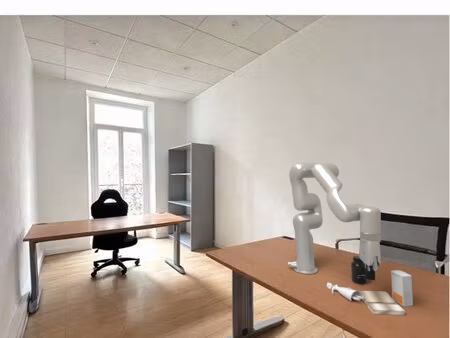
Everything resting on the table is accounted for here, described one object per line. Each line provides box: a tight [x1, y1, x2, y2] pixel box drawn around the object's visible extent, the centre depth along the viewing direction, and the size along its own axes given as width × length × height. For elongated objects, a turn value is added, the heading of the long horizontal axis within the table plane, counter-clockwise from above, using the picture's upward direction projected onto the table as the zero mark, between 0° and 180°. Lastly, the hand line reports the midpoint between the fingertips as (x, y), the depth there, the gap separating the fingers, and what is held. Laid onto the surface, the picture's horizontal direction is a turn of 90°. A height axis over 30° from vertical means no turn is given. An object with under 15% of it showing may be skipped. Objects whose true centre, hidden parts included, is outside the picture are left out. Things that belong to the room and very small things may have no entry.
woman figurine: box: [326, 282, 364, 302], centre depth 107 cm, size 12×4×18 cm
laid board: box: [367, 303, 406, 316], centre depth 93 cm, size 11×5×2 cm, turn 82°
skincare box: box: [390, 269, 414, 307], centre depth 99 cm, size 6×4×12 cm
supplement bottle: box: [350, 255, 368, 286], centre depth 119 cm, size 7×7×12 cm
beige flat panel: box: [358, 290, 397, 306], centre depth 101 cm, size 11×8×1 cm
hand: (370, 279), depth 103 cm, fingers closed
